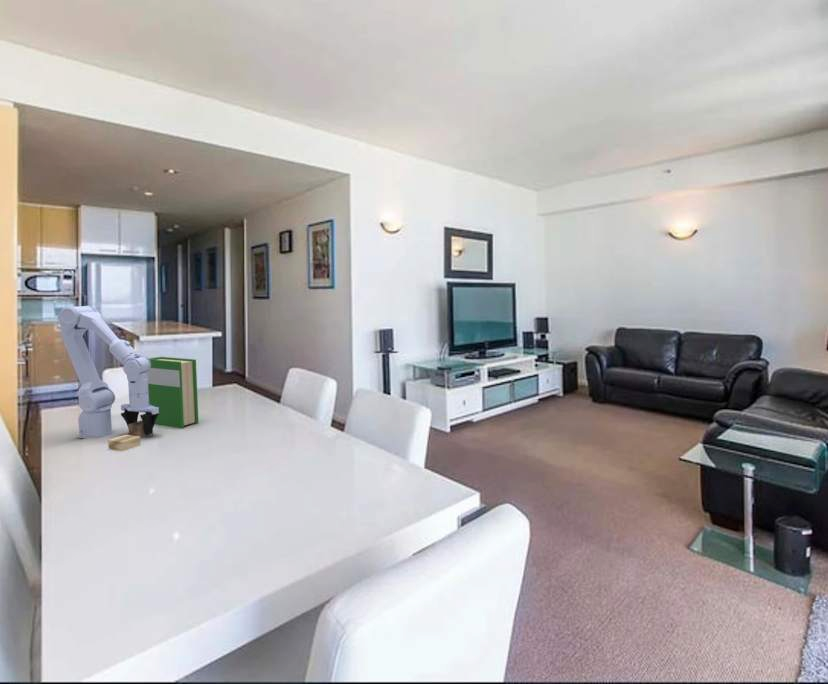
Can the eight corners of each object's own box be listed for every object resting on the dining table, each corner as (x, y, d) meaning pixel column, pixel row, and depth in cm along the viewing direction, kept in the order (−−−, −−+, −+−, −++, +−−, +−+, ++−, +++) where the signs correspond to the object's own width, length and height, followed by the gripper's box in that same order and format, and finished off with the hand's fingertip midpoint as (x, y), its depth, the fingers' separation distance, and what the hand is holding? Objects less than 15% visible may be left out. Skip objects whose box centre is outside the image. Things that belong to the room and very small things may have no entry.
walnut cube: (129, 438, 158) (128, 424, 158) (142, 434, 163) (141, 420, 163) (140, 440, 157) (139, 425, 156) (153, 436, 162) (152, 421, 161)
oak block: (108, 448, 146) (108, 440, 146) (126, 443, 151) (125, 434, 151) (123, 451, 144) (122, 442, 144) (140, 445, 149) (140, 436, 149)
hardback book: (198, 423, 177) (195, 359, 175) (181, 428, 170) (178, 362, 168) (164, 418, 184) (161, 356, 182) (147, 423, 177) (143, 359, 175)
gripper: (111, 393, 157) (114, 434, 158) (144, 397, 152) (147, 438, 154) (130, 389, 164) (132, 428, 165) (163, 393, 159) (165, 432, 160)
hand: (140, 433), depth 160 cm, fingers open, 6 cm apart
